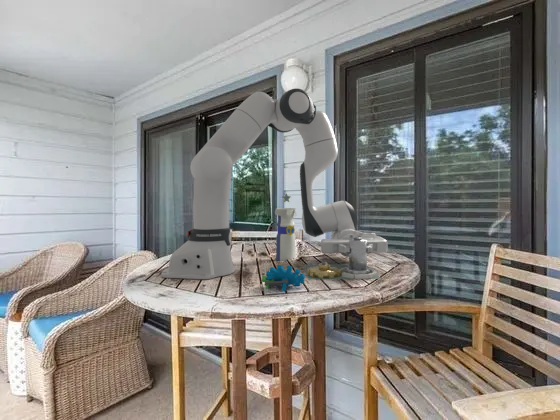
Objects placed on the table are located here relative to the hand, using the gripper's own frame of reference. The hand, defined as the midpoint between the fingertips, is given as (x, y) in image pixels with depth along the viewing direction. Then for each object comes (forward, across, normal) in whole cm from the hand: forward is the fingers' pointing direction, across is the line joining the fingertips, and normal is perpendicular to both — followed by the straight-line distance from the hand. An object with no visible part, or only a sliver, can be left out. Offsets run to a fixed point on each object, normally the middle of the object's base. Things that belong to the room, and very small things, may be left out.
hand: (358, 250), depth 95 cm
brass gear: (-1, -10, +7) cm, 12 cm away
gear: (+12, -22, +9) cm, 26 cm away
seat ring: (-1, 0, +7) cm, 7 cm away
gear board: (-5, -5, +8) cm, 11 cm away
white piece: (-29, -20, +9) cm, 37 cm away
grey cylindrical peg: (-1, 0, +7) cm, 7 cm away
